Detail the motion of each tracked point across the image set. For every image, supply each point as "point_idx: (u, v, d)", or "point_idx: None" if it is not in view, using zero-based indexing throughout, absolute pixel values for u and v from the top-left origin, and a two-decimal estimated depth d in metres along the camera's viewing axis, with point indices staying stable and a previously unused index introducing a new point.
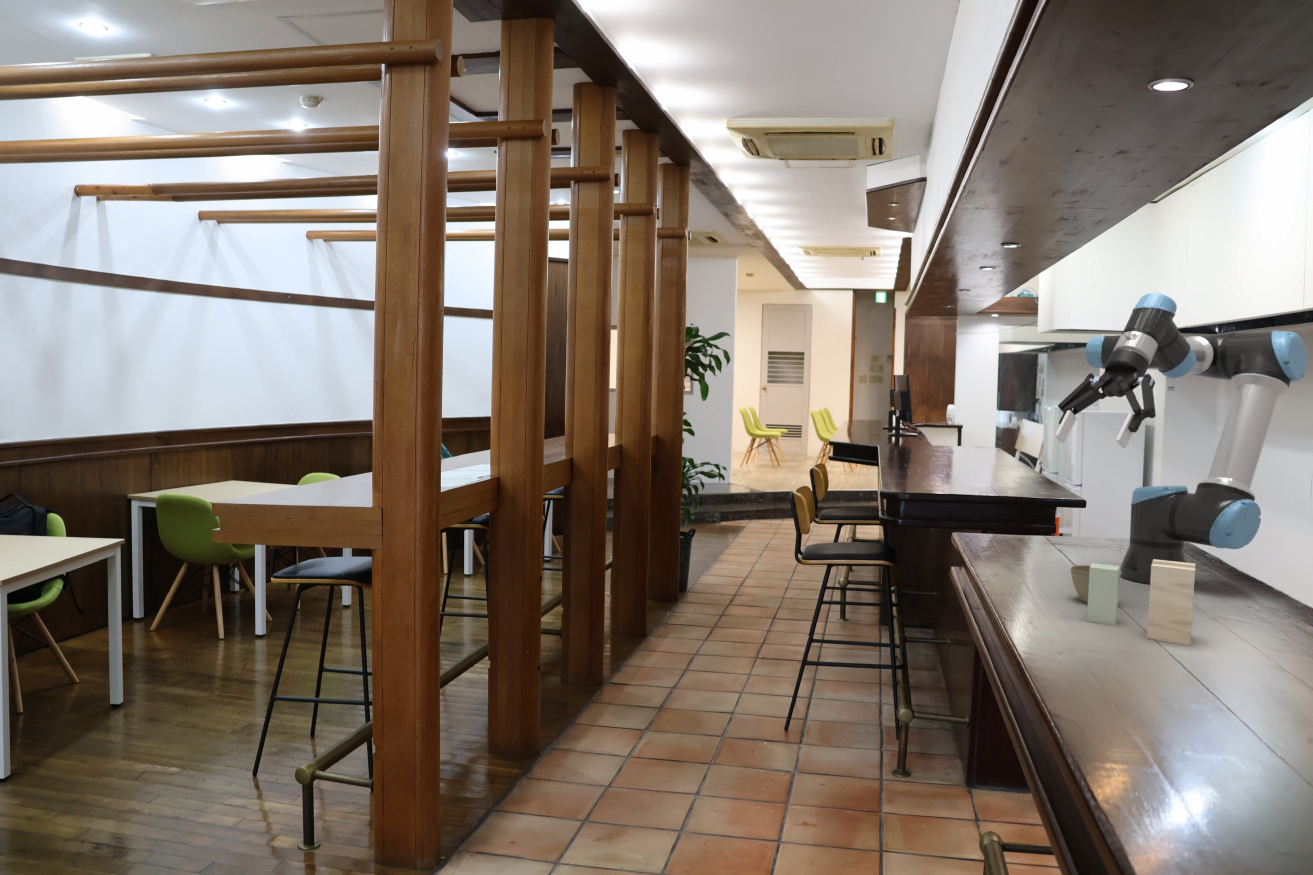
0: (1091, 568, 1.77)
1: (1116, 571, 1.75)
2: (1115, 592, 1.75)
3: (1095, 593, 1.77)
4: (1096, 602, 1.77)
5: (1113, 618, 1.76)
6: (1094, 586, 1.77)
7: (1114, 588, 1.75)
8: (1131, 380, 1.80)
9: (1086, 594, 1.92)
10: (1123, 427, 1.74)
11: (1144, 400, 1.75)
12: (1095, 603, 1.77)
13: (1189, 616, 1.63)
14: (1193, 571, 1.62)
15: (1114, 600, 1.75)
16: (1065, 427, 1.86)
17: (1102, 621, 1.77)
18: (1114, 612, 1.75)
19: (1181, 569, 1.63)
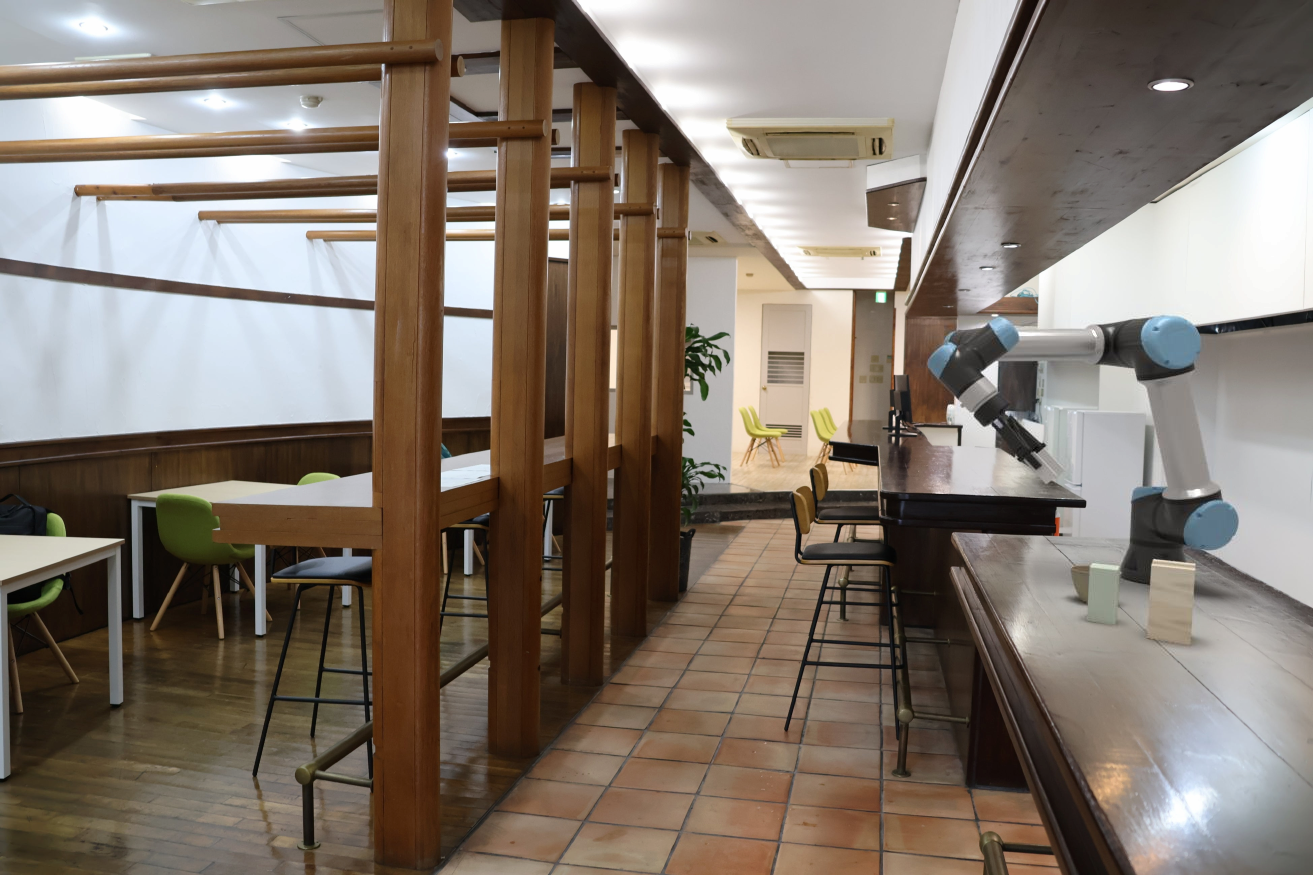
0: (1091, 568, 1.77)
1: (1116, 571, 1.75)
2: (1115, 592, 1.75)
3: (1095, 593, 1.77)
4: (1096, 602, 1.77)
5: (1113, 618, 1.76)
6: (1094, 586, 1.77)
7: (1114, 588, 1.75)
8: None
9: (1086, 594, 1.92)
10: None
11: None
12: (1095, 603, 1.77)
13: (1189, 616, 1.63)
14: (1193, 571, 1.62)
15: (1114, 600, 1.75)
16: (1050, 466, 1.92)
17: (1102, 621, 1.77)
18: (1114, 612, 1.75)
19: (1181, 569, 1.63)
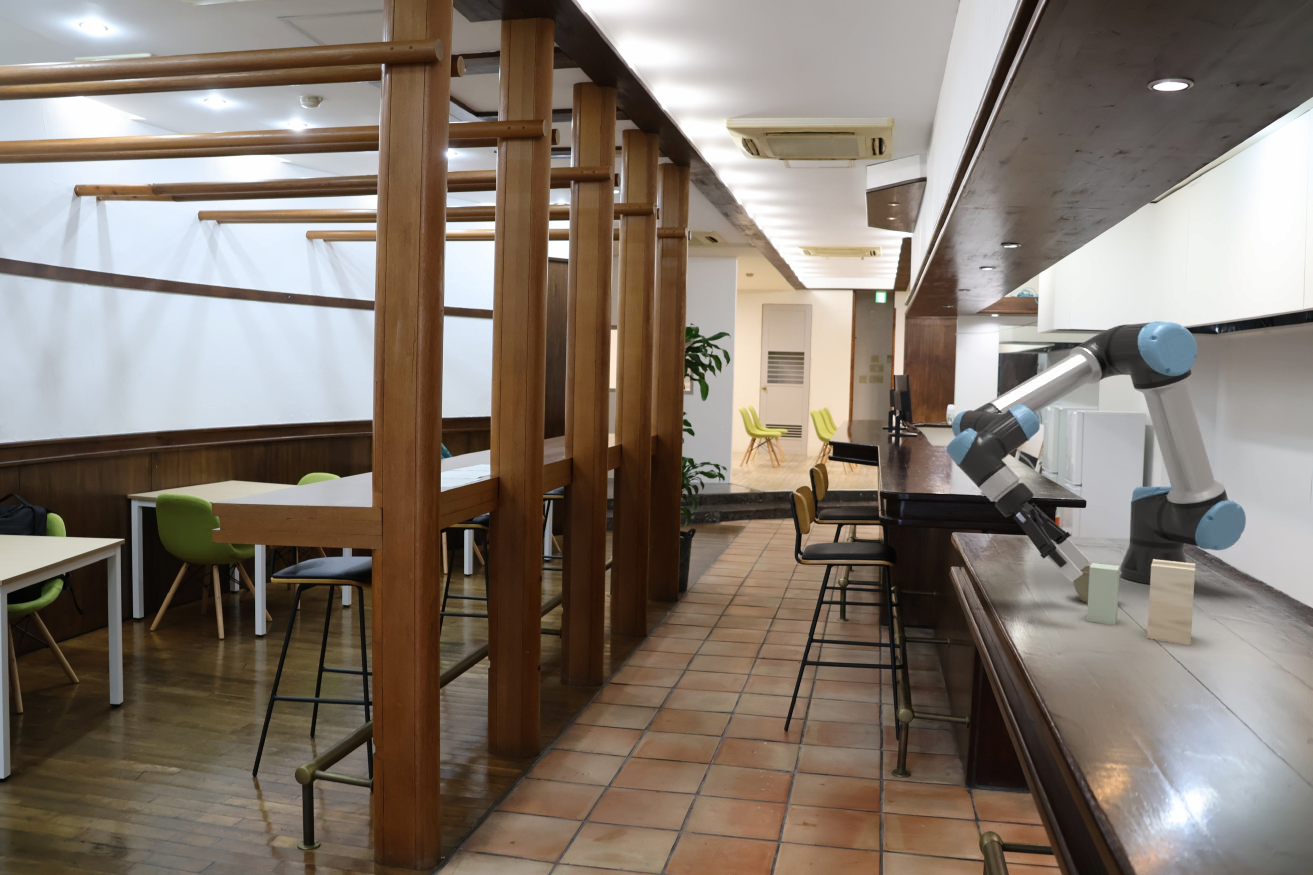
0: (1091, 568, 1.77)
1: (1116, 571, 1.75)
2: (1115, 592, 1.75)
3: (1095, 593, 1.77)
4: (1096, 602, 1.77)
5: (1113, 618, 1.76)
6: (1094, 586, 1.77)
7: (1114, 588, 1.75)
8: None
9: (1086, 594, 1.92)
10: None
11: None
12: (1095, 603, 1.77)
13: (1189, 616, 1.63)
14: (1193, 571, 1.62)
15: (1114, 600, 1.75)
16: (1074, 557, 1.86)
17: (1102, 621, 1.77)
18: (1114, 612, 1.75)
19: (1181, 569, 1.63)
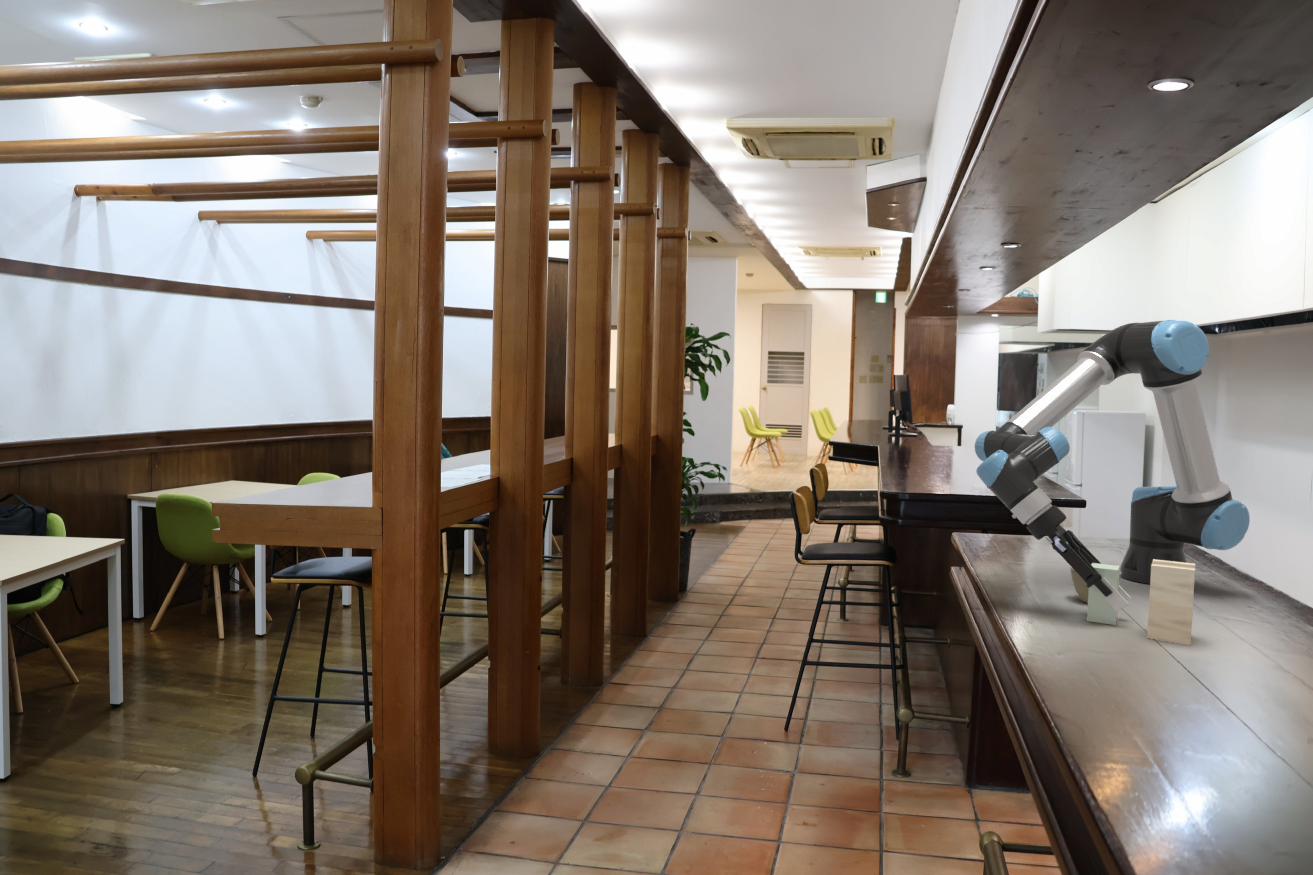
0: None
1: (1116, 571, 1.75)
2: None
3: (1095, 593, 1.77)
4: (1096, 602, 1.77)
5: (1113, 618, 1.76)
6: None
7: None
8: None
9: (1086, 594, 1.92)
10: None
11: None
12: (1096, 603, 1.77)
13: (1189, 616, 1.63)
14: (1193, 571, 1.62)
15: None
16: None
17: (1102, 621, 1.77)
18: (1114, 612, 1.75)
19: (1181, 569, 1.63)
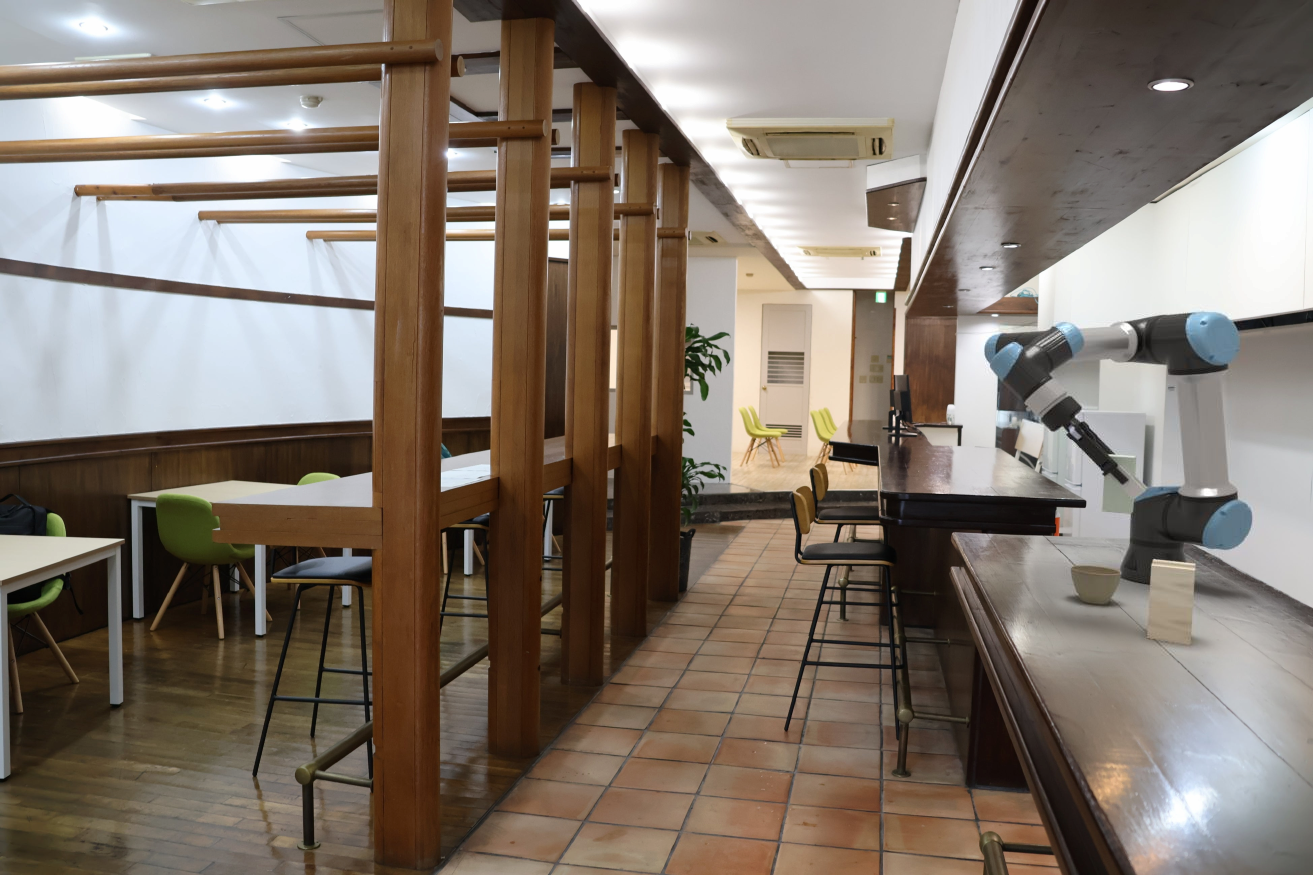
0: None
1: (1132, 458, 1.71)
2: None
3: (1110, 482, 1.73)
4: (1111, 492, 1.73)
5: (1129, 507, 1.72)
6: None
7: None
8: None
9: (1086, 594, 1.92)
10: (1121, 487, 1.72)
11: None
12: (1111, 492, 1.73)
13: (1189, 616, 1.63)
14: (1193, 571, 1.62)
15: None
16: None
17: (1118, 511, 1.73)
18: (1130, 501, 1.71)
19: (1181, 569, 1.63)
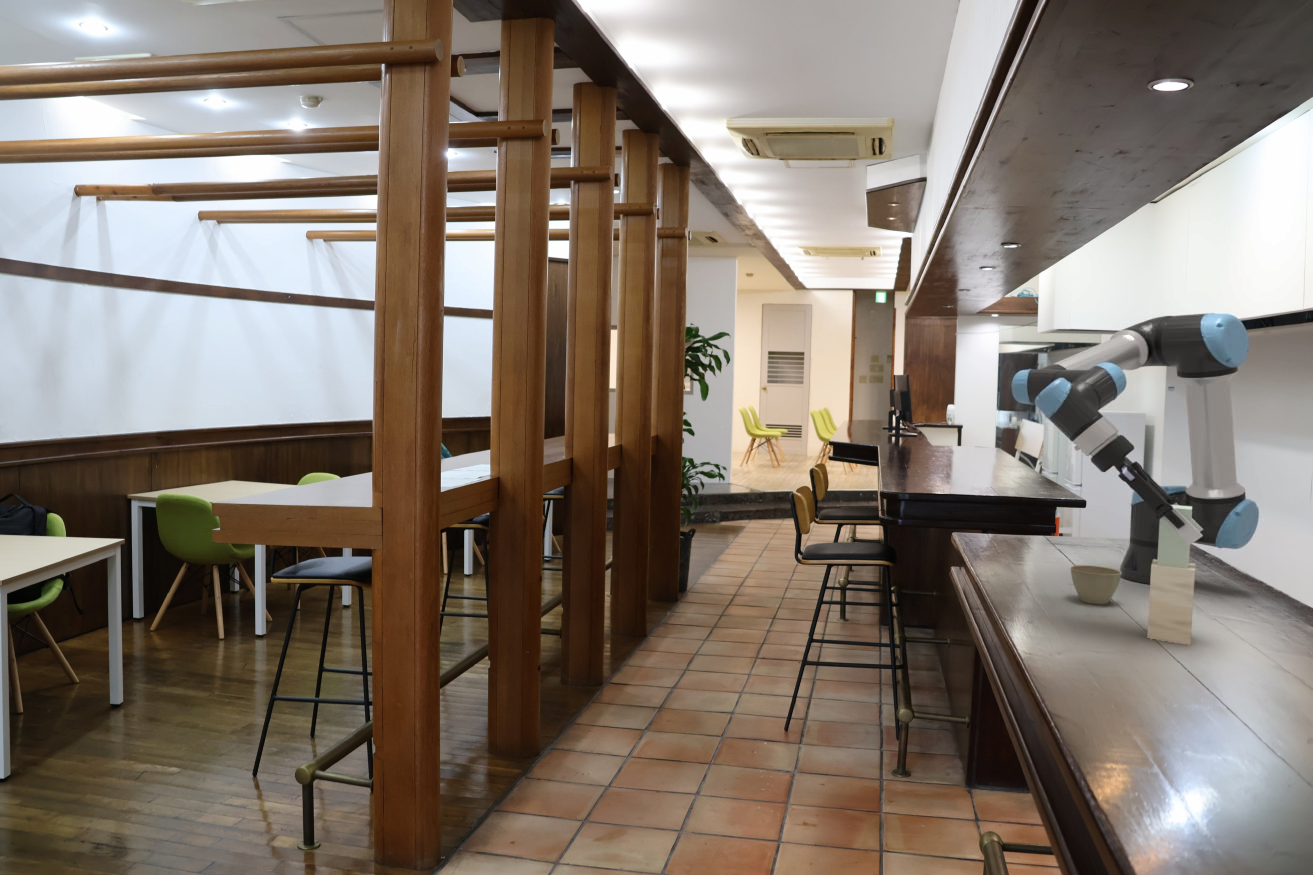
0: None
1: (1190, 510, 1.62)
2: None
3: (1166, 535, 1.65)
4: (1167, 545, 1.65)
5: (1186, 561, 1.63)
6: (1166, 527, 1.65)
7: None
8: None
9: (1086, 594, 1.92)
10: None
11: None
12: (1167, 545, 1.65)
13: (1189, 616, 1.63)
14: (1193, 571, 1.62)
15: None
16: None
17: (1174, 565, 1.64)
18: (1187, 555, 1.63)
19: (1181, 569, 1.63)
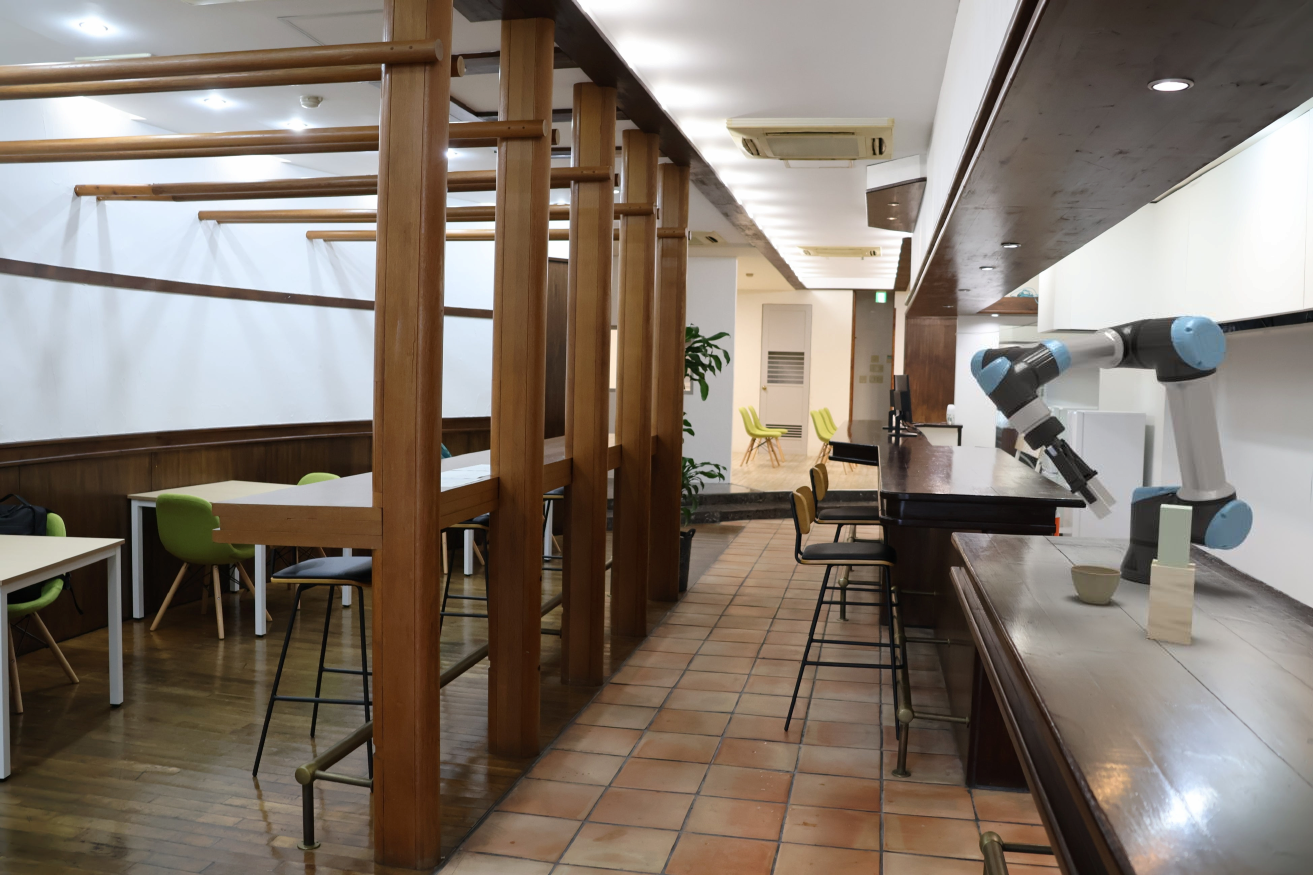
0: (1162, 508, 1.65)
1: (1190, 510, 1.62)
2: (1189, 533, 1.63)
3: (1166, 535, 1.65)
4: (1167, 545, 1.65)
5: (1186, 561, 1.63)
6: (1166, 527, 1.65)
7: (1188, 529, 1.63)
8: None
9: (1086, 594, 1.92)
10: (1089, 507, 1.69)
11: (1065, 478, 1.69)
12: (1167, 545, 1.65)
13: (1189, 616, 1.63)
14: (1193, 571, 1.62)
15: (1188, 542, 1.63)
16: (1100, 496, 1.80)
17: (1174, 565, 1.64)
18: (1187, 555, 1.63)
19: (1181, 569, 1.63)
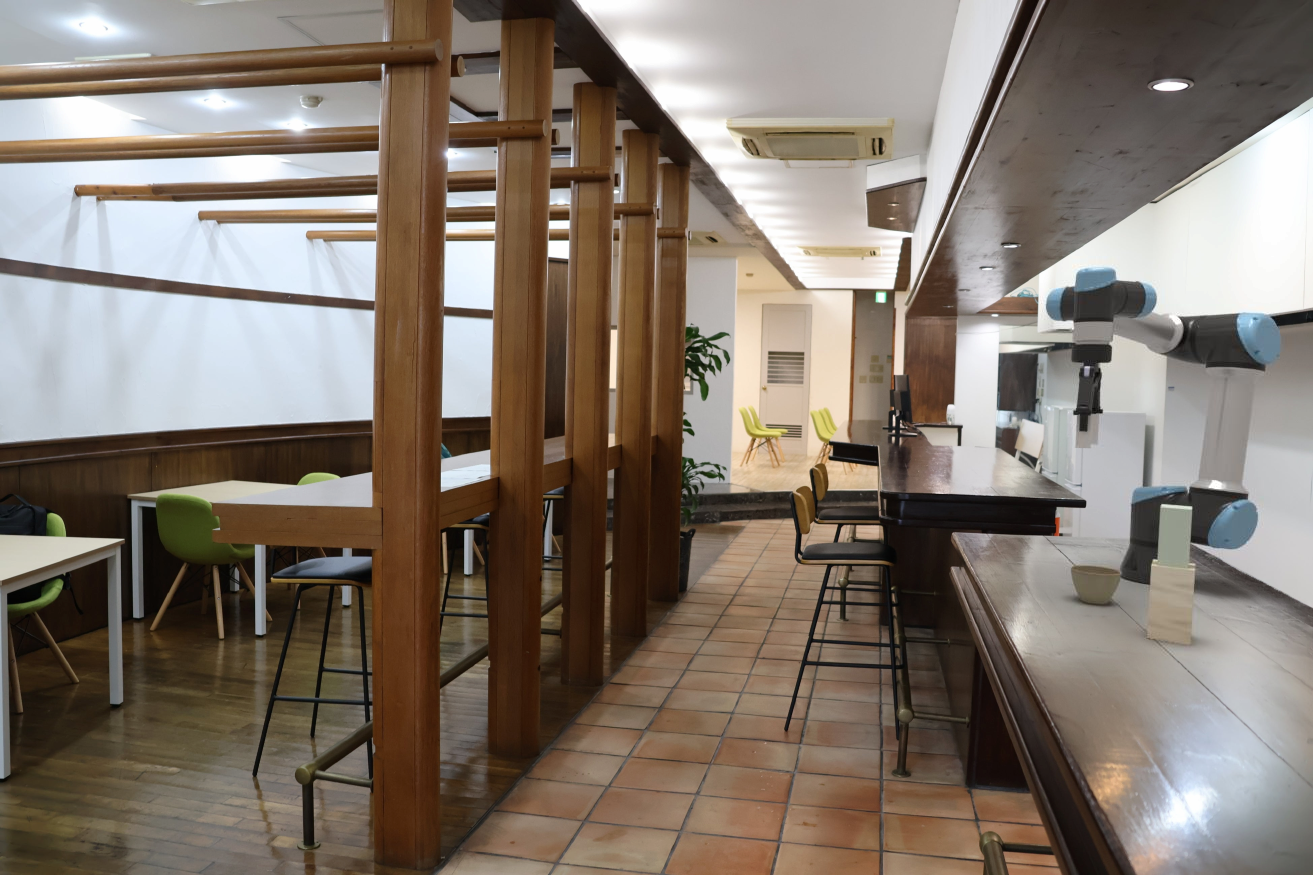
0: (1162, 508, 1.65)
1: (1190, 511, 1.62)
2: (1189, 533, 1.63)
3: (1166, 535, 1.65)
4: (1167, 545, 1.65)
5: (1186, 561, 1.63)
6: (1166, 527, 1.65)
7: (1188, 529, 1.63)
8: None
9: (1086, 594, 1.92)
10: (1076, 432, 1.79)
11: None
12: (1167, 545, 1.65)
13: (1189, 616, 1.63)
14: (1193, 571, 1.62)
15: (1188, 542, 1.63)
16: None
17: (1174, 565, 1.64)
18: (1187, 555, 1.63)
19: (1181, 569, 1.63)
